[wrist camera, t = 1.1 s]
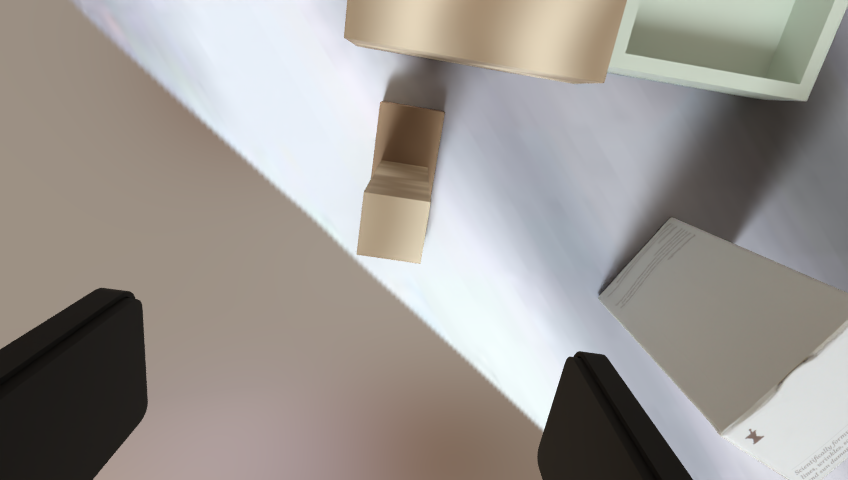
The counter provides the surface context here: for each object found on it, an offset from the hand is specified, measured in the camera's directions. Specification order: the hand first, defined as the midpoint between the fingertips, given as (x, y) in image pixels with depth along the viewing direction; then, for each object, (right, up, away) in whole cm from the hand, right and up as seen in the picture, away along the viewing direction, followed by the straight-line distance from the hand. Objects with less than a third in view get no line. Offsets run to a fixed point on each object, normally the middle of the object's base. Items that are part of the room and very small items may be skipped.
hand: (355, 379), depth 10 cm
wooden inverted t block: (0, +7, +21) cm, 22 cm away
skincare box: (+19, +1, +23) cm, 30 cm away
